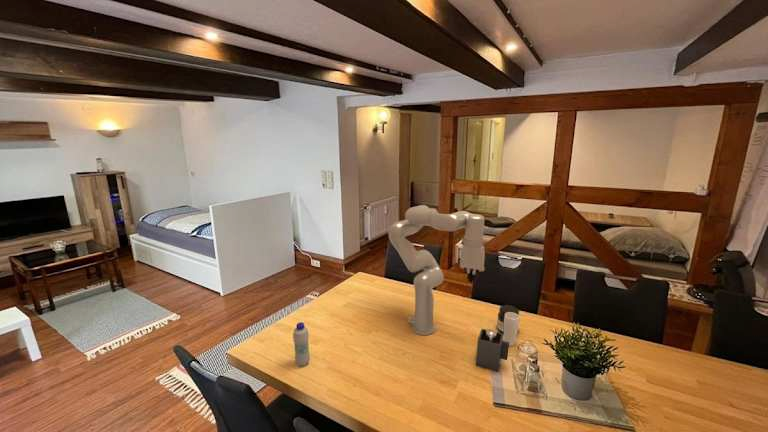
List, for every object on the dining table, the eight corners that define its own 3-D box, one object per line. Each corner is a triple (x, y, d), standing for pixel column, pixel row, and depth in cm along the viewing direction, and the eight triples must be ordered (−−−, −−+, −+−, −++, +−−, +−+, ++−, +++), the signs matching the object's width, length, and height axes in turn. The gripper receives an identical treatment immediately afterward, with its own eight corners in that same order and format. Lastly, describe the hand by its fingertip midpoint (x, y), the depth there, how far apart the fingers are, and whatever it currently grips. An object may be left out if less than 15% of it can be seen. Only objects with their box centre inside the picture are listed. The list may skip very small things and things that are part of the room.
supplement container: (495, 333, 171) (497, 312, 168) (497, 323, 181) (499, 303, 178) (517, 338, 168) (520, 316, 165) (518, 327, 177) (520, 306, 174)
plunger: (479, 357, 147) (481, 334, 145) (482, 348, 154) (484, 326, 151) (496, 362, 144) (498, 338, 142) (498, 353, 151) (500, 329, 148)
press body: (475, 365, 148) (477, 339, 144) (479, 353, 156) (481, 328, 153) (505, 374, 143) (508, 347, 139) (507, 360, 151) (510, 335, 148)
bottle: (313, 360, 151) (310, 320, 146) (305, 369, 145) (302, 328, 140) (300, 356, 153) (297, 317, 149) (291, 366, 147) (288, 325, 142)
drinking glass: (517, 348, 160) (520, 320, 156) (502, 346, 161) (505, 318, 157) (515, 339, 166) (518, 312, 163) (501, 338, 168) (503, 311, 164)
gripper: (454, 242, 146) (452, 281, 150) (490, 247, 139) (486, 288, 144) (458, 237, 152) (456, 275, 157) (492, 242, 146) (489, 281, 151)
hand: (470, 281), depth 150 cm, fingers closed
